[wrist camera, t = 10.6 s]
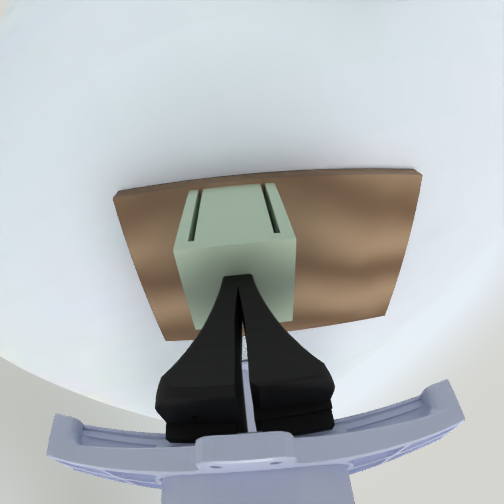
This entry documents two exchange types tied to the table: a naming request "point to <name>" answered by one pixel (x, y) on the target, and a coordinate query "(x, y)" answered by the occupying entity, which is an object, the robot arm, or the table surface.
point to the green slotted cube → (236, 247)
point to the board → (307, 241)
